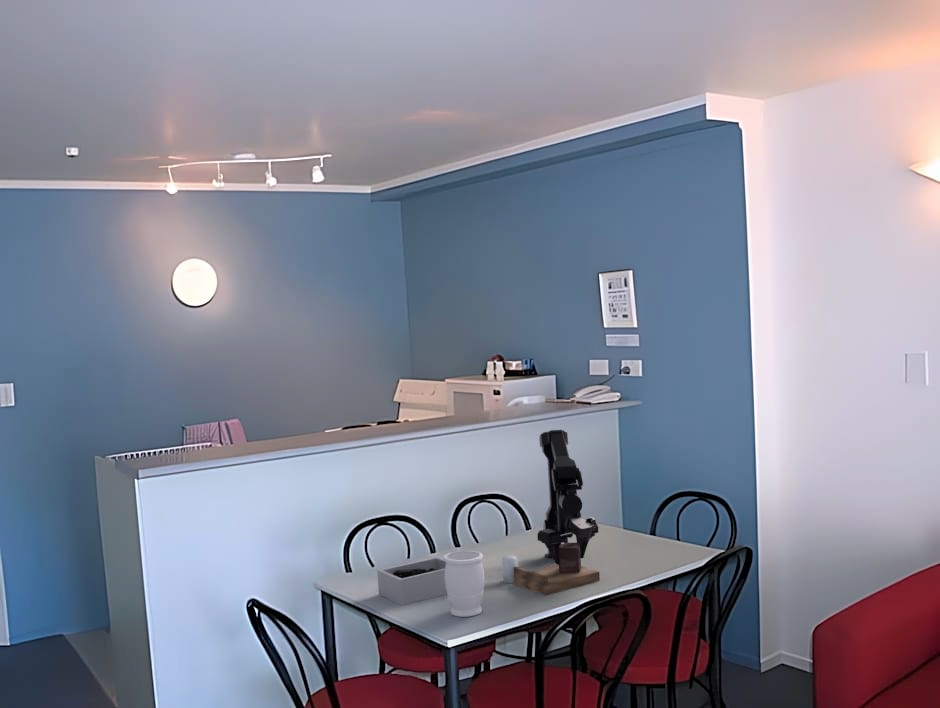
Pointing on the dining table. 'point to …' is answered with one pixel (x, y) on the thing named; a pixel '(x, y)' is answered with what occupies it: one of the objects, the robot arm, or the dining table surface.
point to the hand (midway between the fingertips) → (569, 561)
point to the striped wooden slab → (553, 579)
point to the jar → (464, 582)
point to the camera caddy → (413, 582)
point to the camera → (411, 572)
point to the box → (569, 557)
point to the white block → (509, 568)
